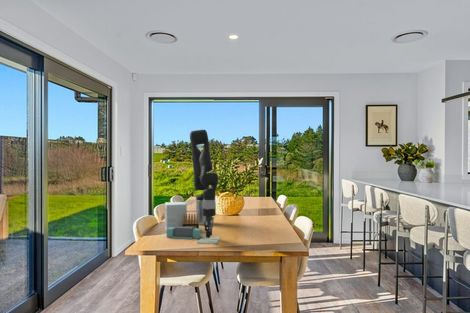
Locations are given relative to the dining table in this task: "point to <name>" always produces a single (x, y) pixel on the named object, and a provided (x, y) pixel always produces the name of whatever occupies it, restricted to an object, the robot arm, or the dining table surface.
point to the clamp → (195, 236)
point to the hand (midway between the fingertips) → (209, 236)
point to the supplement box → (174, 214)
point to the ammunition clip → (190, 221)
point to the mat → (208, 240)
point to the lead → (183, 231)
